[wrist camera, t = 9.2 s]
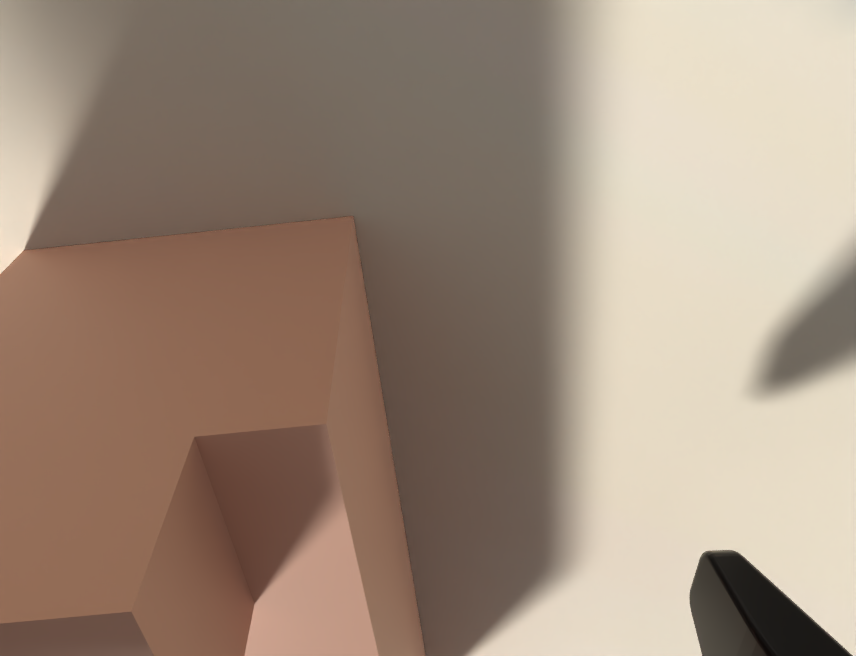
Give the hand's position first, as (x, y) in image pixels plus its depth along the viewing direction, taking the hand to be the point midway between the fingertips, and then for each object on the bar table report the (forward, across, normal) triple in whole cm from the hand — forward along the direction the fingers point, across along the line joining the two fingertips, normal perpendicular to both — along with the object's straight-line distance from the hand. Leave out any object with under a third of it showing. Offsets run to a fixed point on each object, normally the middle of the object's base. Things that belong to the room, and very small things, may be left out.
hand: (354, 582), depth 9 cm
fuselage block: (+2, +1, +1) cm, 3 cm away
